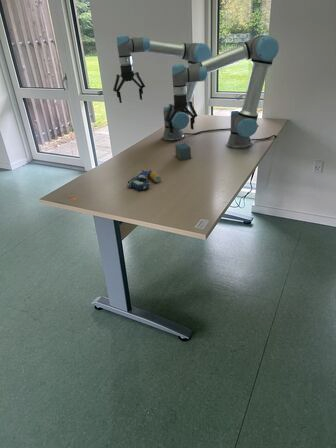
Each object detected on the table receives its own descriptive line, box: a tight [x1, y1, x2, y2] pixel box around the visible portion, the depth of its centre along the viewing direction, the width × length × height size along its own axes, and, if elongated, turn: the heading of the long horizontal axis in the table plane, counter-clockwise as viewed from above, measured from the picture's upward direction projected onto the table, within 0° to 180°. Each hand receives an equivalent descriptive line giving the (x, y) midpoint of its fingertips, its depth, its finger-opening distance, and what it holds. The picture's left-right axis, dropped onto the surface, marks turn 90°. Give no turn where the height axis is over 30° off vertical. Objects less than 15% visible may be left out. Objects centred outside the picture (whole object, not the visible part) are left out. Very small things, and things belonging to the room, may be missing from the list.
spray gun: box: [126, 169, 162, 191], centre depth 181 cm, size 21×4×15 cm
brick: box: [174, 142, 192, 161], centre depth 211 cm, size 7×9×7 cm
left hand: (130, 101), depth 214 cm, fingers open, 13 cm apart
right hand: (181, 130), depth 204 cm, fingers open, 13 cm apart
